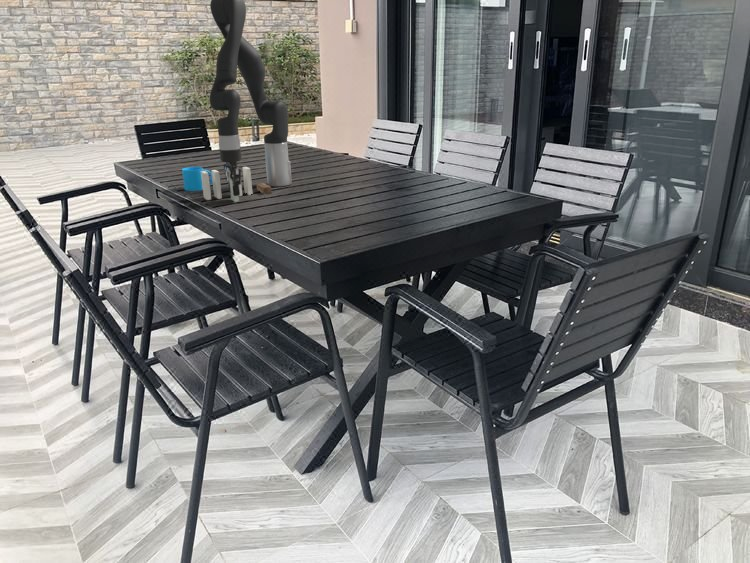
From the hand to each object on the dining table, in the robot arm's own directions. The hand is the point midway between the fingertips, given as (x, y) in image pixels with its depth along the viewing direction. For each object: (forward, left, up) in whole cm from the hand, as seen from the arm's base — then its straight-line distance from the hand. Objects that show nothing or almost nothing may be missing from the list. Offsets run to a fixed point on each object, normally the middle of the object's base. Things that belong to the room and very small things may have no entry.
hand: (234, 194), depth 227 cm
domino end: (-8, -9, -2) cm, 12 cm away
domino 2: (+4, -9, -2) cm, 10 cm away
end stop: (-14, -9, -2) cm, 17 cm away
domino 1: (+8, -9, -2) cm, 12 cm away
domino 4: (-4, -9, -2) cm, 10 cm away
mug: (+6, -30, -3) cm, 31 cm away
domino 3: (0, 0, -2) cm, 2 cm away
